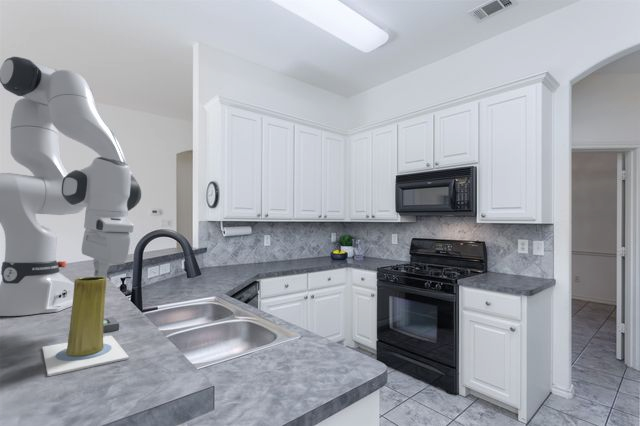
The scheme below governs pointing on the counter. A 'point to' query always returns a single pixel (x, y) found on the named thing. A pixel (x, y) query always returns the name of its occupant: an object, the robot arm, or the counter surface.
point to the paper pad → (81, 357)
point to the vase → (87, 316)
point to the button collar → (110, 325)
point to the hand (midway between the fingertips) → (100, 277)
